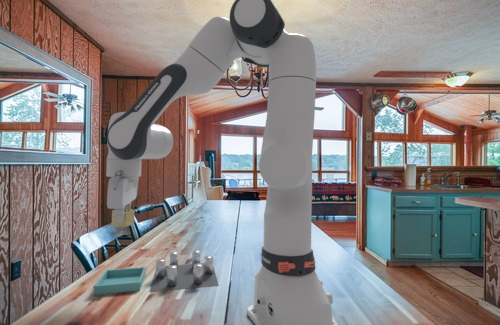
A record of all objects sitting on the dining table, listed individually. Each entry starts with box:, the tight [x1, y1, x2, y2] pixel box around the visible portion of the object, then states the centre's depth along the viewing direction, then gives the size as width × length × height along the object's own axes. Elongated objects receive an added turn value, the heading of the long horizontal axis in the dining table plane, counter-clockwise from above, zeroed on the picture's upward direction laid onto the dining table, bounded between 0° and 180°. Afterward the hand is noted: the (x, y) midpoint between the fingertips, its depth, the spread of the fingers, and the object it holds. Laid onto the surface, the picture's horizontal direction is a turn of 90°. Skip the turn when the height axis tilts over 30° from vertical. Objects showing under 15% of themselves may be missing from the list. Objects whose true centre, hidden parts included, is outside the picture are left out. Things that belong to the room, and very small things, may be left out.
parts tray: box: [93, 266, 147, 297], centre depth 75 cm, size 11×11×2 cm
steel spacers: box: [155, 249, 214, 287], centre depth 80 cm, size 15×17×5 cm
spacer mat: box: [149, 262, 220, 293], centre depth 80 cm, size 18×18×1 cm
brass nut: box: [111, 208, 135, 228], centre depth 75 cm, size 6×5×4 cm
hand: (123, 220), depth 75 cm, fingers closed on brass nut, 5 cm apart
